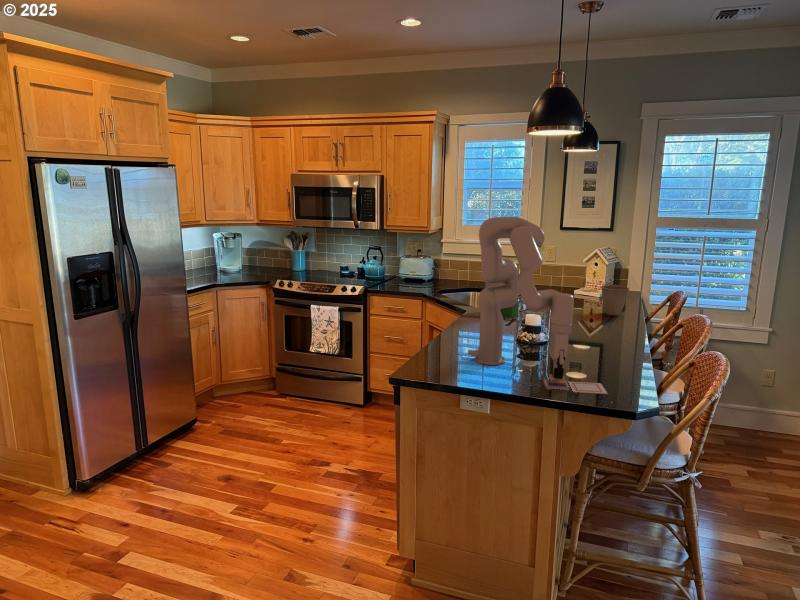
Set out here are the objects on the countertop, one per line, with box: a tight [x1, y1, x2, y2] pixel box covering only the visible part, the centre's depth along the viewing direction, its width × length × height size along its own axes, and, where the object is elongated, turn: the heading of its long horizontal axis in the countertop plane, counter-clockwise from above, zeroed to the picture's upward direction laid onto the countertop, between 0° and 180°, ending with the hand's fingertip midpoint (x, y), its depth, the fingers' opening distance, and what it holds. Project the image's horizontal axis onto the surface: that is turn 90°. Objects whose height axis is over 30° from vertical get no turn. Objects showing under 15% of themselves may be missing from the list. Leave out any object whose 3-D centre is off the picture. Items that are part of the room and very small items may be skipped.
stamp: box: [548, 358, 566, 385], centre depth 192 cm, size 5×4×12 cm
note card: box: [567, 381, 608, 395], centre depth 192 cm, size 12×10×1 cm
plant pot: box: [601, 284, 630, 316], centre depth 306 cm, size 15×15×16 cm
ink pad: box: [543, 378, 570, 391], centre depth 193 cm, size 8×7×2 cm
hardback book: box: [484, 273, 520, 319], centre depth 300 cm, size 18×7×24 cm, turn 52°
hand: (557, 375), depth 193 cm, fingers closed on stamp, 3 cm apart
